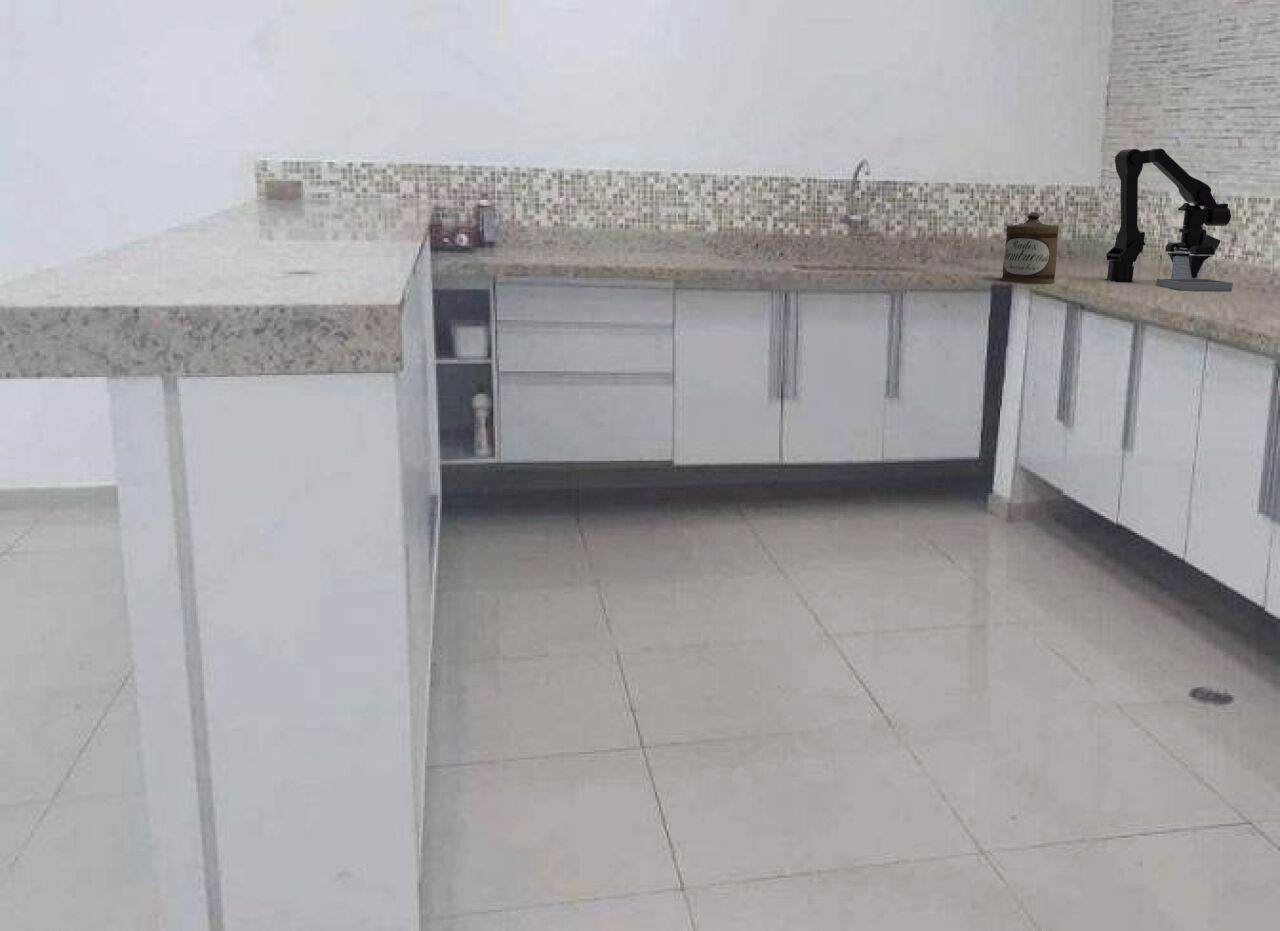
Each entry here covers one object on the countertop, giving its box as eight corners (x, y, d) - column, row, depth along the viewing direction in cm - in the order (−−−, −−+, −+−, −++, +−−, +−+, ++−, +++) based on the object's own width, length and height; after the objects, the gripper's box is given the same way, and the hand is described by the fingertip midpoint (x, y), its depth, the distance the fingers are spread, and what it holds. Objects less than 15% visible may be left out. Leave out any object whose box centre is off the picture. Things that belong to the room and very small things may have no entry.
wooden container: (994, 287, 322) (1000, 211, 316) (1011, 284, 333) (1017, 211, 328) (1044, 290, 313) (1052, 212, 308) (1060, 287, 325) (1067, 212, 319)
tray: (1178, 290, 315) (1179, 282, 315) (1155, 287, 328) (1156, 278, 327) (1231, 291, 316) (1232, 282, 315) (1207, 287, 329) (1208, 279, 328)
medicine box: (1201, 284, 338) (1204, 256, 336) (1196, 285, 335) (1200, 257, 333) (1174, 283, 343) (1177, 255, 341) (1169, 284, 340) (1173, 256, 338)
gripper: (1235, 227, 326) (1228, 279, 330) (1201, 225, 344) (1195, 274, 348) (1199, 226, 325) (1192, 279, 329) (1167, 224, 343) (1161, 274, 347)
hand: (1186, 276), depth 338 cm, fingers closed on medicine box, 8 cm apart
